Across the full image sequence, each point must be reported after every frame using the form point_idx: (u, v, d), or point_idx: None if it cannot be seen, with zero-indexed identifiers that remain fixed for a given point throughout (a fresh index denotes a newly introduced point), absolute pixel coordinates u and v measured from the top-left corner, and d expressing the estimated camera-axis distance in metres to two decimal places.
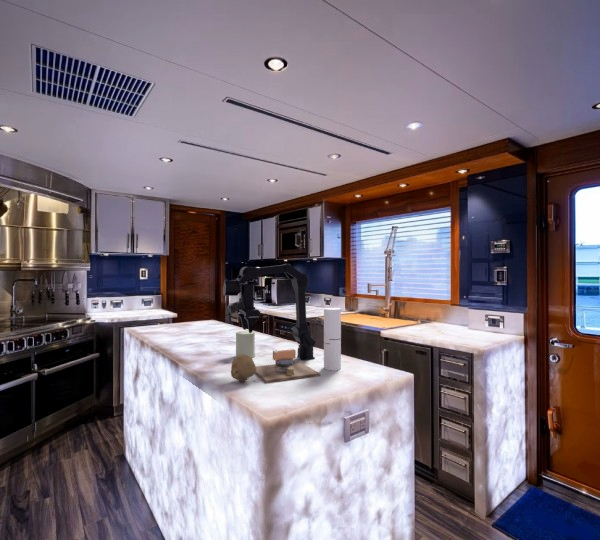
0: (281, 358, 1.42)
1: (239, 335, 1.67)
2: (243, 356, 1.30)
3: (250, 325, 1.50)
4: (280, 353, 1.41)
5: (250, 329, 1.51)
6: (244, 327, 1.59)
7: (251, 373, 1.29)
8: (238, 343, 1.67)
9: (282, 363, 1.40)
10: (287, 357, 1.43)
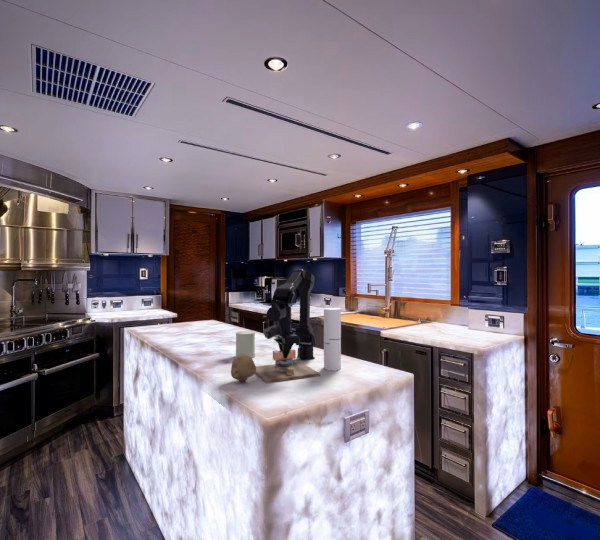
0: (281, 358, 1.42)
1: (239, 335, 1.67)
2: (243, 356, 1.30)
3: (285, 350, 1.41)
4: (280, 353, 1.41)
5: (285, 354, 1.41)
6: None
7: (251, 373, 1.29)
8: (238, 343, 1.67)
9: (282, 363, 1.40)
10: (287, 357, 1.43)
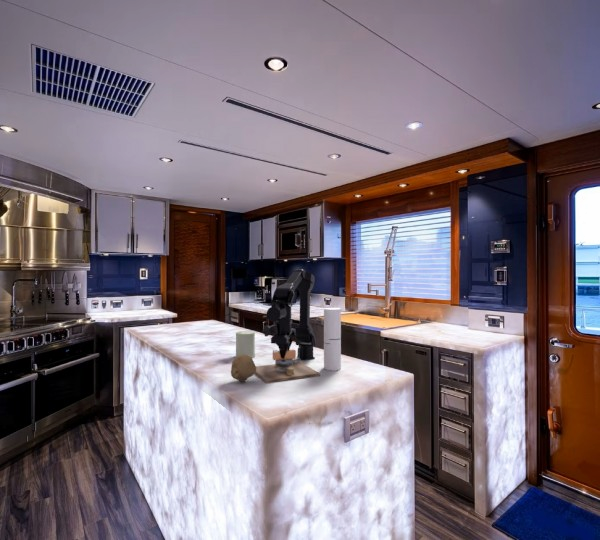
0: (281, 358, 1.42)
1: (239, 335, 1.67)
2: (243, 356, 1.30)
3: (281, 350, 1.40)
4: (279, 353, 1.42)
5: (282, 355, 1.41)
6: None
7: (251, 373, 1.29)
8: (238, 343, 1.67)
9: (281, 363, 1.40)
10: (287, 357, 1.43)
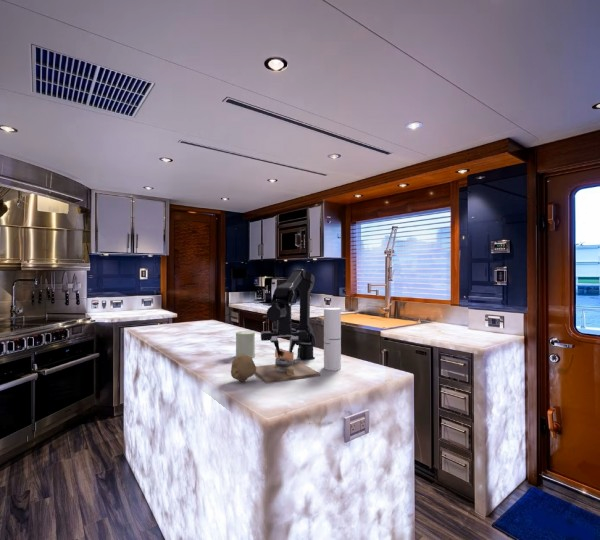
0: (279, 357, 1.44)
1: (239, 335, 1.67)
2: (243, 356, 1.30)
3: None
4: None
5: None
6: None
7: (251, 373, 1.29)
8: (238, 343, 1.67)
9: (275, 361, 1.43)
10: (283, 358, 1.42)
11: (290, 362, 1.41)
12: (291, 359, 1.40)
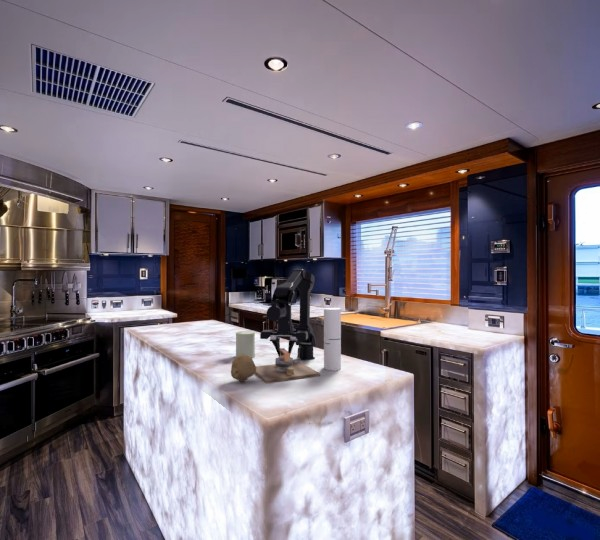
0: (280, 356, 1.44)
1: (239, 335, 1.67)
2: (243, 356, 1.30)
3: None
4: (280, 351, 1.45)
5: None
6: None
7: (251, 373, 1.29)
8: (238, 343, 1.67)
9: None
10: (282, 357, 1.42)
11: (287, 363, 1.40)
12: (287, 360, 1.39)
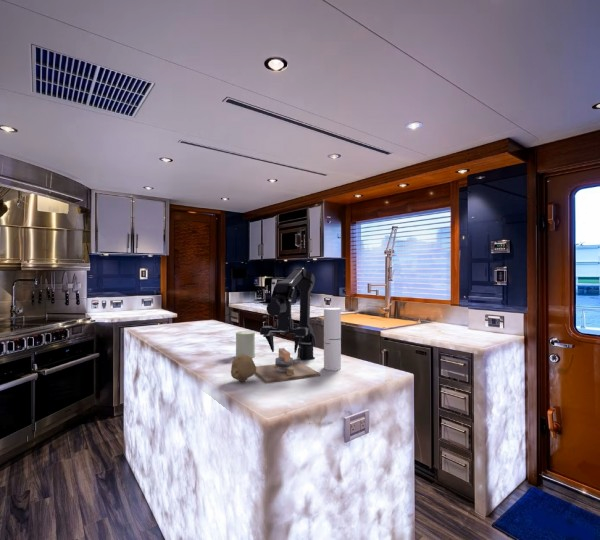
0: (280, 356, 1.44)
1: (239, 335, 1.67)
2: (243, 356, 1.30)
3: None
4: (280, 351, 1.45)
5: None
6: None
7: (251, 373, 1.29)
8: (238, 343, 1.67)
9: None
10: (282, 357, 1.42)
11: (287, 363, 1.40)
12: (287, 360, 1.39)
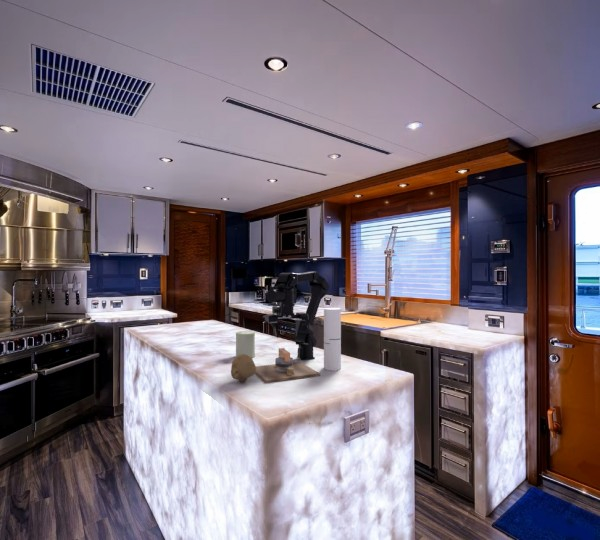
0: (280, 356, 1.44)
1: (239, 335, 1.67)
2: (243, 356, 1.30)
3: (274, 330, 1.55)
4: (280, 351, 1.45)
5: (275, 334, 1.55)
6: (296, 333, 1.59)
7: (251, 373, 1.29)
8: (238, 343, 1.67)
9: None
10: (282, 357, 1.42)
11: (287, 363, 1.40)
12: (287, 360, 1.39)
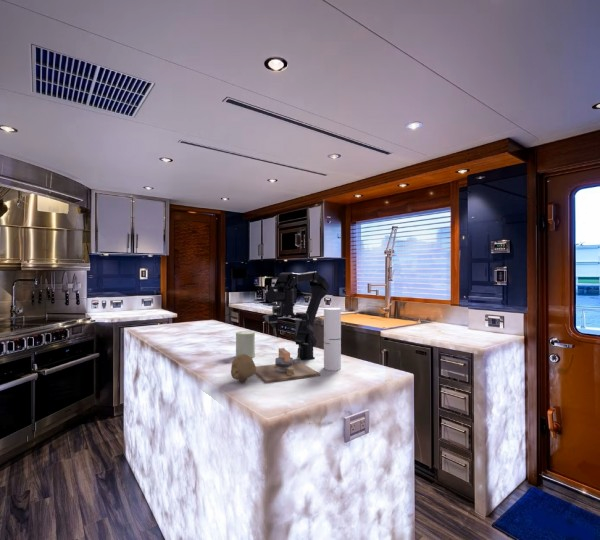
0: (280, 356, 1.44)
1: (239, 335, 1.67)
2: (243, 356, 1.30)
3: (274, 329, 1.55)
4: (280, 351, 1.45)
5: (275, 334, 1.55)
6: (295, 333, 1.59)
7: (251, 373, 1.29)
8: (238, 343, 1.67)
9: None
10: (282, 357, 1.42)
11: (287, 363, 1.40)
12: (287, 360, 1.39)
